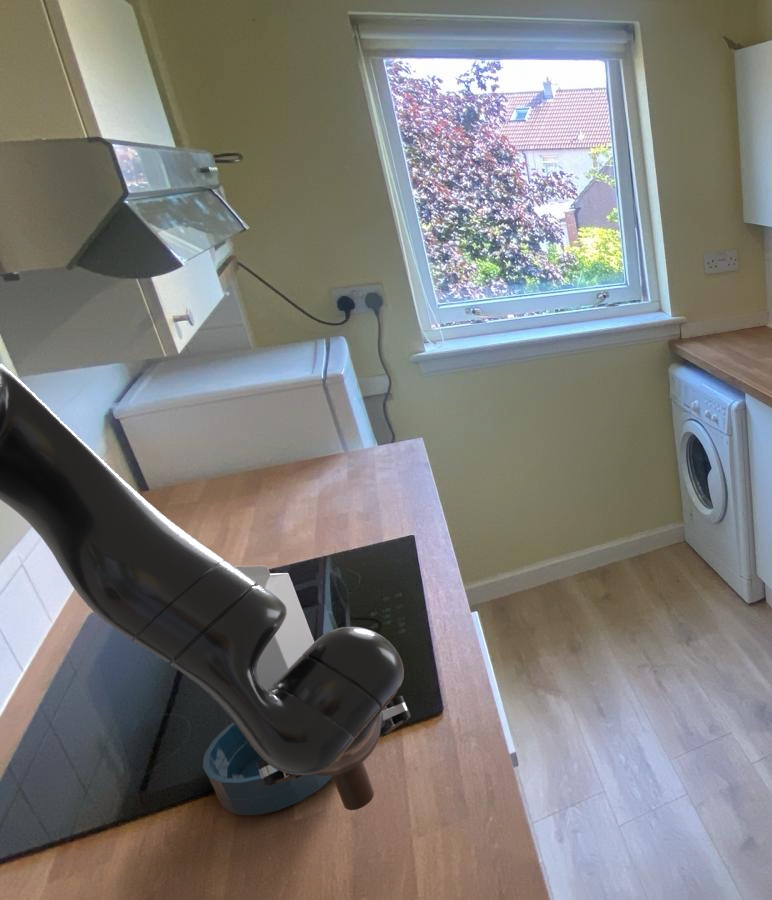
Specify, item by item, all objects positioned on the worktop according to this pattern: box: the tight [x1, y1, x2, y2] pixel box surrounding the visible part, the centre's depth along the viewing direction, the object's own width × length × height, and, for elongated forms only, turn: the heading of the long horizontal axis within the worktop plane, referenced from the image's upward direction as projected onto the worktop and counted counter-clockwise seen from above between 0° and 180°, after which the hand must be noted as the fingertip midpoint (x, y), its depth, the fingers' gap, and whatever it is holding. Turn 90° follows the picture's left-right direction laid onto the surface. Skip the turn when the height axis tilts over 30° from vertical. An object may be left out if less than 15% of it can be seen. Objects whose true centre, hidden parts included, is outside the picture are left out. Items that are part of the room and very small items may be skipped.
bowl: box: [202, 721, 333, 816], centre depth 92 cm, size 14×14×6 cm
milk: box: [233, 565, 315, 690], centre depth 101 cm, size 6×6×22 cm
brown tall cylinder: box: [332, 761, 375, 811], centre depth 80 cm, size 3×3×10 cm
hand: (339, 749), depth 81 cm, fingers closed on brown tall cylinder, 3 cm apart
